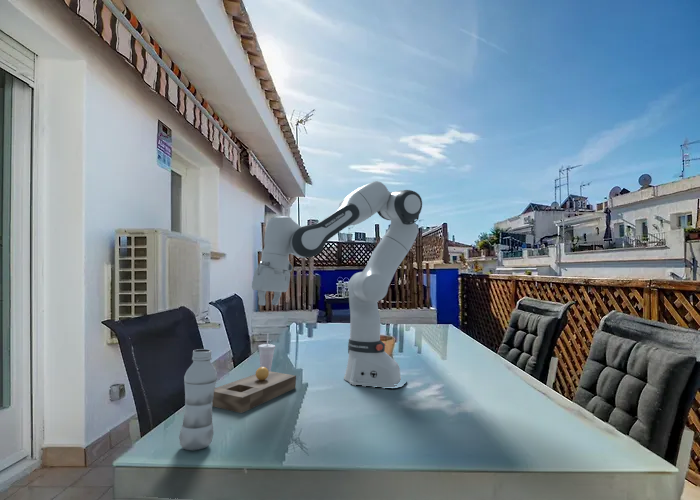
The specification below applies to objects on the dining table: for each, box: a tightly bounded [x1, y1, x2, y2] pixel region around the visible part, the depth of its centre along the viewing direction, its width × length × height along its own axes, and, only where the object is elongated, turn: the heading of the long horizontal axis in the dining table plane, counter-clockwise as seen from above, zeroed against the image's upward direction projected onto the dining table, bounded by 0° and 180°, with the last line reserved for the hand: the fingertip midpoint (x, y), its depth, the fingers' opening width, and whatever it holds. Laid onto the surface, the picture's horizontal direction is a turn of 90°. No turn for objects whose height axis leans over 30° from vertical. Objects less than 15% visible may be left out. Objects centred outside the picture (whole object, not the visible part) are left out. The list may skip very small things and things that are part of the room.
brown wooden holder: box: [212, 370, 297, 414], centre depth 113 cm, size 12×26×4 cm, turn 155°
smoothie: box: [257, 333, 276, 372], centre depth 143 cm, size 6×6×14 cm
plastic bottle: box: [178, 348, 218, 451], centre depth 79 cm, size 6×7×20 cm
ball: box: [255, 367, 269, 380], centre depth 116 cm, size 4×4×4 cm
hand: (268, 305), depth 124 cm, fingers open, 8 cm apart
